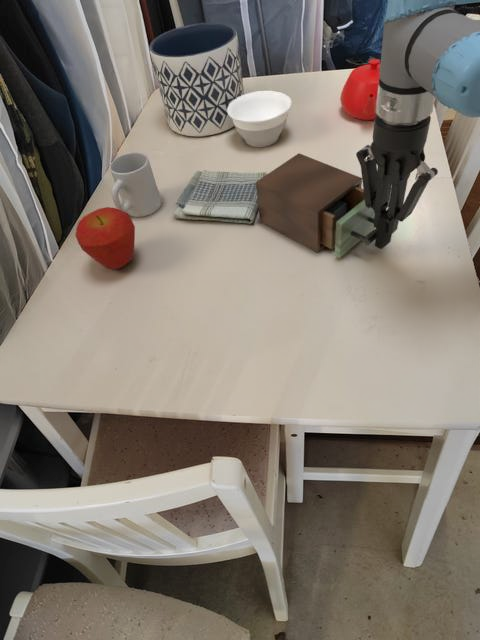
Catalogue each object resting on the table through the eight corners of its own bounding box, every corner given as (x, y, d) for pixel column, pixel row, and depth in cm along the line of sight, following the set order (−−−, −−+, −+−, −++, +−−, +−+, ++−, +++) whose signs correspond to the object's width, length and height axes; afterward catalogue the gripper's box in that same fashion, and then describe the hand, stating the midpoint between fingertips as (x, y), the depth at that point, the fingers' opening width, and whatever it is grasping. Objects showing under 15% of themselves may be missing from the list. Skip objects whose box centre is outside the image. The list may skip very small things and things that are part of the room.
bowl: (220, 149, 114) (215, 117, 107) (248, 120, 122) (245, 87, 116) (277, 158, 108) (274, 124, 101) (302, 126, 116) (301, 93, 110)
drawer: (395, 235, 84) (401, 200, 78) (358, 268, 79) (362, 234, 74) (318, 200, 94) (319, 167, 88) (282, 227, 89) (279, 194, 83)
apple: (132, 285, 85) (110, 236, 76) (84, 279, 88) (57, 231, 79) (153, 247, 92) (136, 198, 83) (108, 243, 95) (86, 195, 86)
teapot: (343, 91, 126) (345, 44, 117) (400, 89, 122) (407, 40, 113) (335, 136, 111) (337, 86, 102) (400, 136, 107) (408, 83, 98)
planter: (255, 126, 119) (246, 43, 104) (174, 146, 118) (153, 64, 103) (236, 93, 134) (226, 16, 118) (164, 110, 133) (145, 34, 117)
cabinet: (358, 219, 89) (362, 178, 82) (317, 253, 85) (318, 211, 77) (299, 193, 98) (298, 152, 90) (259, 221, 93) (255, 182, 86)
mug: (139, 192, 106) (124, 150, 98) (168, 198, 103) (155, 154, 94) (109, 223, 99) (91, 180, 91) (140, 229, 96) (124, 186, 88)
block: (345, 221, 86) (346, 202, 83) (331, 233, 85) (332, 214, 81) (327, 213, 89) (327, 195, 85) (313, 225, 87) (313, 206, 84)
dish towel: (270, 177, 103) (269, 165, 100) (253, 226, 92) (252, 214, 90) (196, 175, 107) (193, 163, 105) (171, 222, 97) (167, 210, 94)
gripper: (347, 113, 64) (340, 239, 82) (430, 139, 57) (402, 271, 75) (379, 92, 66) (365, 219, 84) (461, 114, 60) (427, 247, 78)
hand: (382, 243), depth 80 cm, fingers closed
